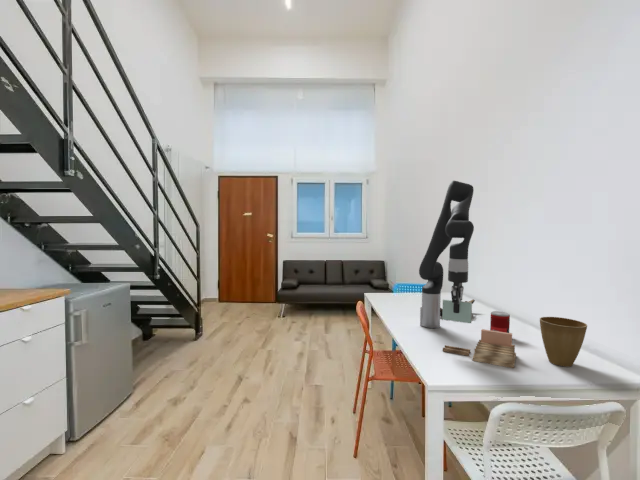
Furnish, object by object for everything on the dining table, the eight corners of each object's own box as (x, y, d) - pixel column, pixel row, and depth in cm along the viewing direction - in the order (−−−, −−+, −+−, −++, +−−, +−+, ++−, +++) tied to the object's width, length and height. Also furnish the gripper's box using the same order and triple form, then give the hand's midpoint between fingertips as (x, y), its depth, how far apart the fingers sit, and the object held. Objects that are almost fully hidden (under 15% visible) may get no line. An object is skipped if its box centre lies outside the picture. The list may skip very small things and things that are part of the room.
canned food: (511, 339, 165) (512, 315, 165) (492, 338, 167) (493, 314, 166) (506, 334, 172) (506, 311, 172) (488, 333, 174) (488, 310, 174)
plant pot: (568, 373, 126) (570, 328, 126) (529, 359, 140) (530, 318, 139) (594, 367, 132) (596, 324, 132) (554, 354, 146) (555, 314, 145)
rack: (472, 360, 138) (472, 349, 138) (478, 349, 151) (478, 338, 151) (513, 368, 131) (514, 356, 131) (516, 355, 144) (516, 344, 143)
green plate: (442, 319, 149) (442, 300, 149) (443, 318, 150) (443, 299, 150) (470, 323, 143) (471, 303, 143) (471, 322, 145) (472, 302, 144)
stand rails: (442, 351, 148) (442, 347, 148) (444, 348, 152) (445, 345, 151) (468, 356, 143) (468, 352, 143) (470, 352, 146) (470, 349, 146)
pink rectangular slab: (480, 349, 147) (481, 330, 147) (481, 348, 148) (481, 329, 148) (511, 354, 141) (511, 334, 141) (511, 353, 143) (512, 333, 142)
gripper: (452, 267, 154) (450, 307, 154) (444, 270, 142) (443, 314, 143) (470, 269, 150) (469, 310, 151) (465, 272, 138) (463, 317, 139)
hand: (456, 312), depth 147 cm, fingers closed on green plate, 1 cm apart
